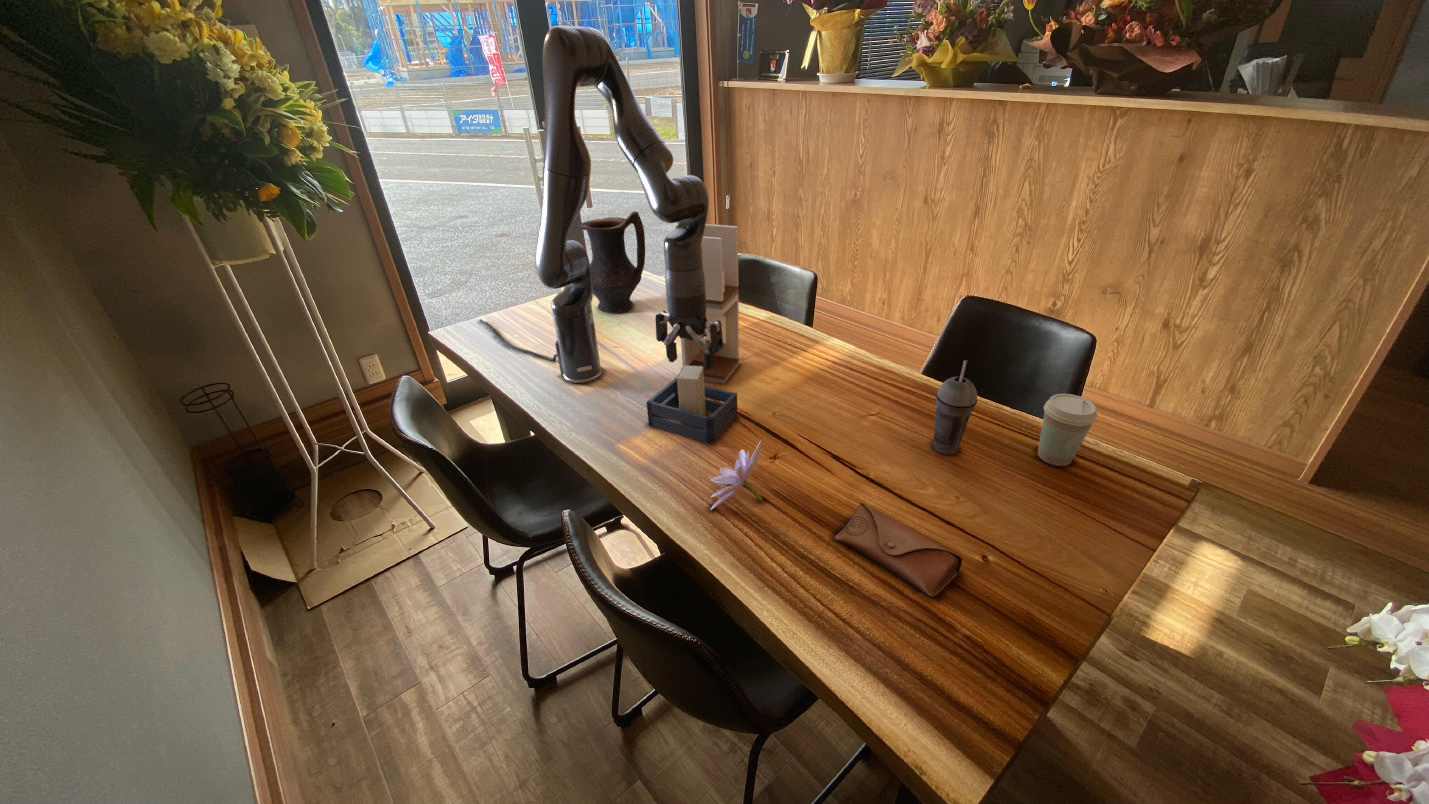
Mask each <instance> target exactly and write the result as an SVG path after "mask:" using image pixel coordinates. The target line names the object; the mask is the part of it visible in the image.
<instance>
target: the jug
mask: <svg viewBox="0 0 1429 804" xmlns="http://www.w3.org/2000/svg"><path fill="white" fill-rule="evenodd" d="M640 216H641V215H640V214H639V212H638V211H632V212H631V213H630V214H629V215H628V216H627V217H626V218H624V217H603V218H595V219H591V220H588V221H582V222H580V223H579V224H578V225H577V227H578V229H580V230H583V231H586V233H587V236H588V238H589V241H590V249H591V254H592V255H591V256H592V257H591V258H592V259H591V261H590V269H591V279H592V290H593V296H594V297H595V298H596V299H597V301H598V304H597V309H598V310H599V311H601V312H603V313H608V314H609V313H610V314H611V313H612V314H616V313H622V312H626V311H629V310H631V309H632V308H633V306H634V303H633V301H632V300H631V297H632V295H633V293H634V291H635V290H636V288H637V286H639V284H640V282H641V280H642V275H643V271H644V268H645V263H646V262H645V261H646V237H645V228H644V224H643V221H642V218H641V217H640ZM632 224H633V227H634V230H635V236H636V237H635V238H636V247H637V248H636V266H635V265H634V264H633V262H631V260H630V259H629V257H628V255H627V252H626V251H627V250H626V243H625V233H626V232H625V231H626V229H627V228H628V227H629V226H630V225H632Z"/></svg>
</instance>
